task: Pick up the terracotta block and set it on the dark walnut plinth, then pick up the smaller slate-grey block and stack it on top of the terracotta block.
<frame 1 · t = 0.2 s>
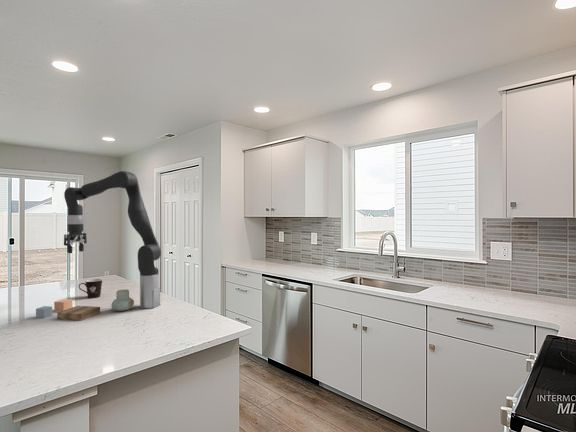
hand: (75, 252, 183), 28 cm above the counter, tool pointing down, fingers open, 8 cm apart
air freshener: (122, 310, 171), on the counter
walnut plinth: (79, 315, 160), on the counter
terracotta block: (63, 310, 170), on the counter
slate block: (44, 316, 159), on the counter
coffee mug: (91, 297, 197), on the counter
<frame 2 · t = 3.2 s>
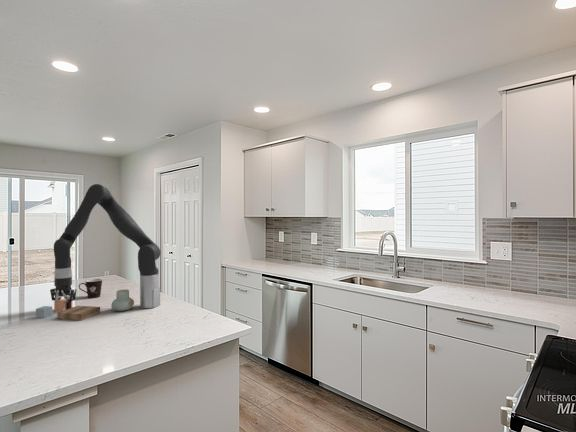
hand: (63, 308, 170), 1 cm above the counter, tool pointing down, fingers closed on terracotta block, 5 cm apart
terracotta block: (63, 310, 170), on the counter, touching gripper
everything else where it was.
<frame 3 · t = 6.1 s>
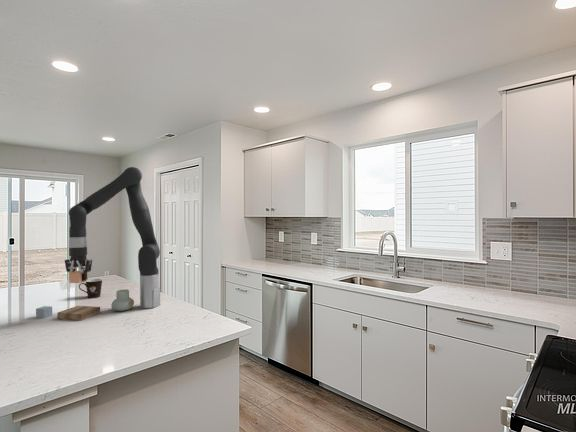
hand: (78, 280, 161), 17 cm above the counter, tool pointing down, fingers closed on terracotta block, 5 cm apart
terracotta block: (78, 281, 161), point 17 cm above the counter, touching gripper
everything else where it was.
when the fingers open (5 cm above the counter, at t = 9.1 s): terracotta block drops 1 cm, resting on walnut plinth.
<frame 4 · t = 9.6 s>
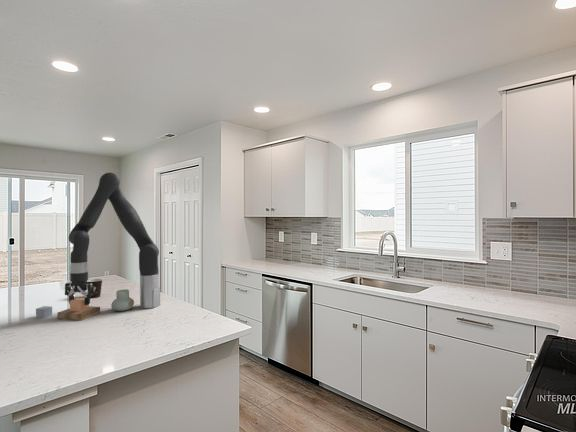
hand: (79, 304, 160), 6 cm above the counter, tool pointing down, fingers open, 8 cm apart
terracotta block: (79, 309, 160), point 3 cm above the counter, touching walnut plinth
everything else where it was.
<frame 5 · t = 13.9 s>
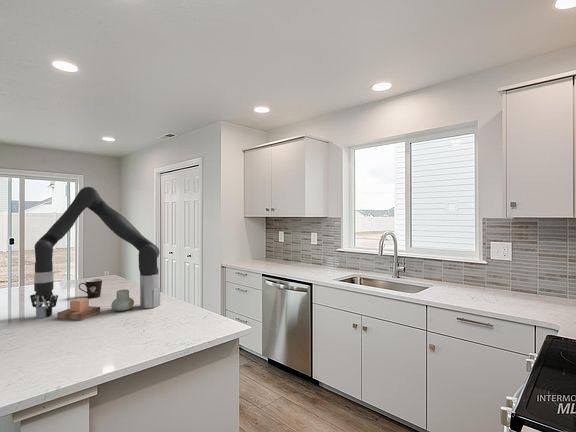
hand: (44, 315, 159), 0 cm above the counter, tool pointing down, fingers closed on slate block, 4 cm apart
slate block: (44, 316, 159), on the counter, touching gripper
everything else where it was.
when the fingers open (10 cm above the counter, at t = 19.0 s): slate block drops 1 cm, resting on terracotta block.
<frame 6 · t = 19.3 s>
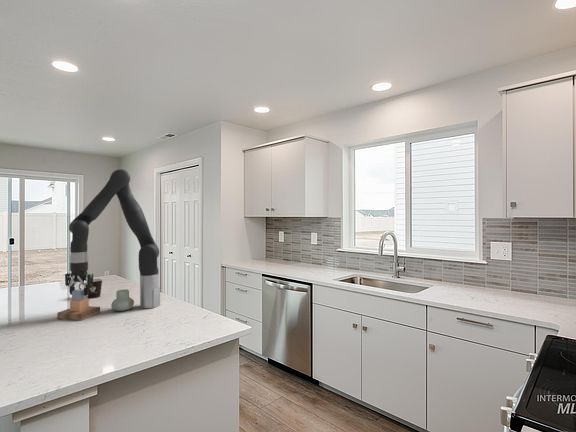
hand: (79, 294, 160), 10 cm above the counter, tool pointing down, fingers open, 7 cm apart
terracotta block: (79, 309, 160), point 3 cm above the counter, touching slate block, walnut plinth
slate block: (79, 299, 160), point 8 cm above the counter, touching terracotta block
everything else where it was.
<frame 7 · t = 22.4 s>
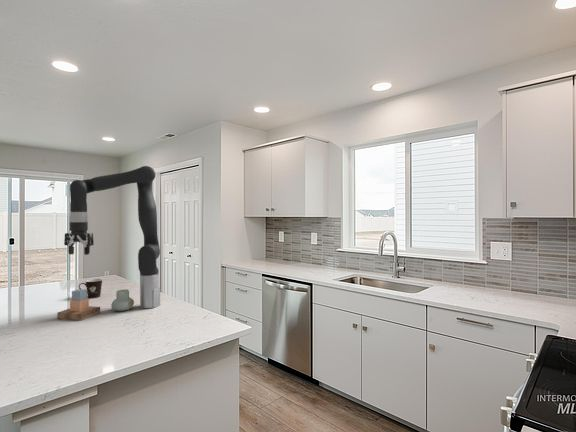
hand: (79, 254, 160), 30 cm above the counter, tool pointing down, fingers open, 8 cm apart
nothing on the counter moved.
at the end: terracotta block 0.0 cm off-centre on the walnut plinth, point 3.0 cm above the walnut plinth's base; slate block 0.1 cm off-centre on the terracotta block, point 5.0 cm above the terracotta block's base; slate block tilted 0° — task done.
